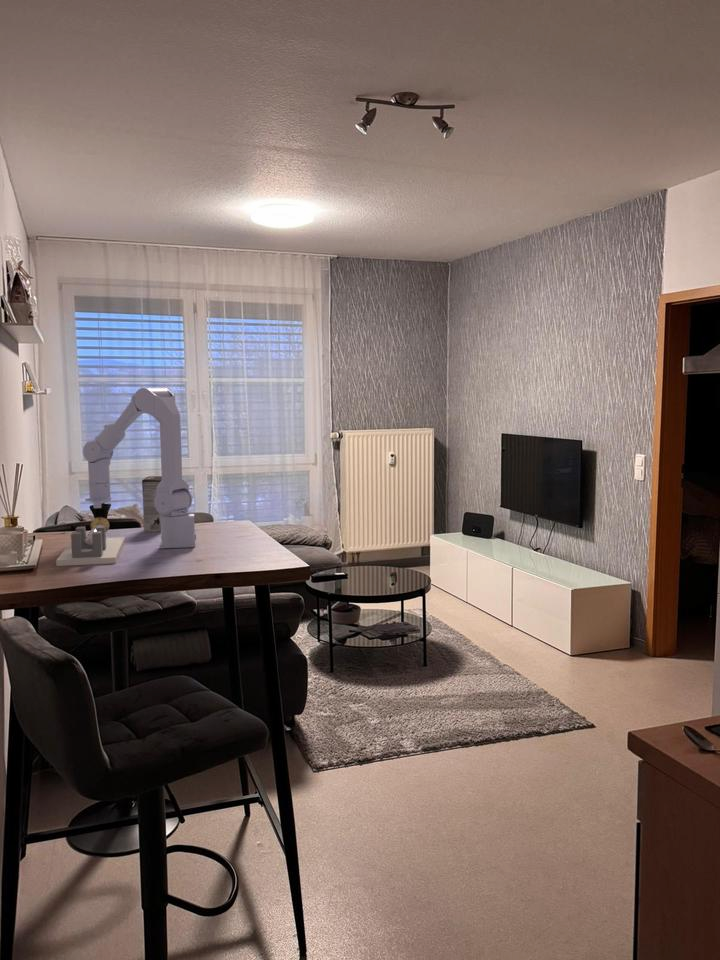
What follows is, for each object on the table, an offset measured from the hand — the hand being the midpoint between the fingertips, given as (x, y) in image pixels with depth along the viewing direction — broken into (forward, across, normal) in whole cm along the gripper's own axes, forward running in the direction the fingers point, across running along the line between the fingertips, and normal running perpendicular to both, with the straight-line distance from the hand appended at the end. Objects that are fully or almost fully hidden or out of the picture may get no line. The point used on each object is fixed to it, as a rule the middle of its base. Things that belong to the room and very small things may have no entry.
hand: (101, 529), depth 225 cm
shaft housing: (+3, +20, 0) cm, 21 cm away
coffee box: (+3, -13, +15) cm, 20 cm away
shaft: (+1, +14, 0) cm, 14 cm away
